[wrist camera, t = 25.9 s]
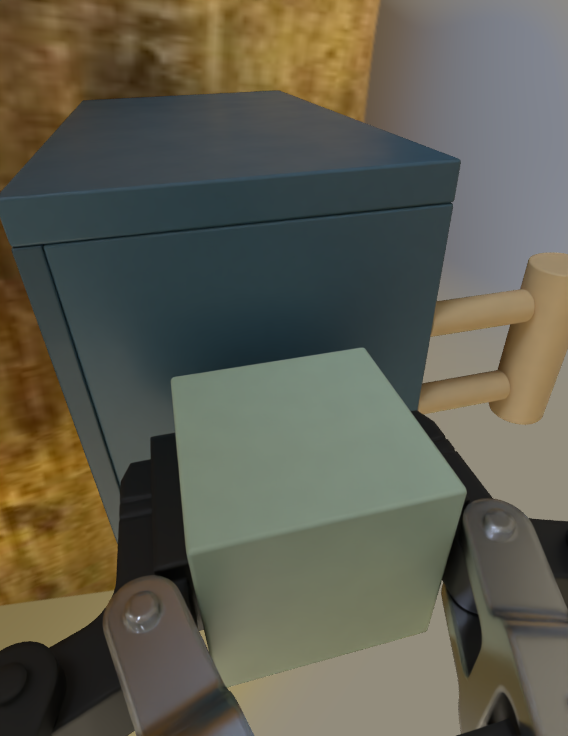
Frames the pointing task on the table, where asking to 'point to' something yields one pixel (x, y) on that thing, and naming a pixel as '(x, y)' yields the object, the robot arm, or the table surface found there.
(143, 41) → the table surface
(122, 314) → the shelf
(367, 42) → the table surface
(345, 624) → the block
